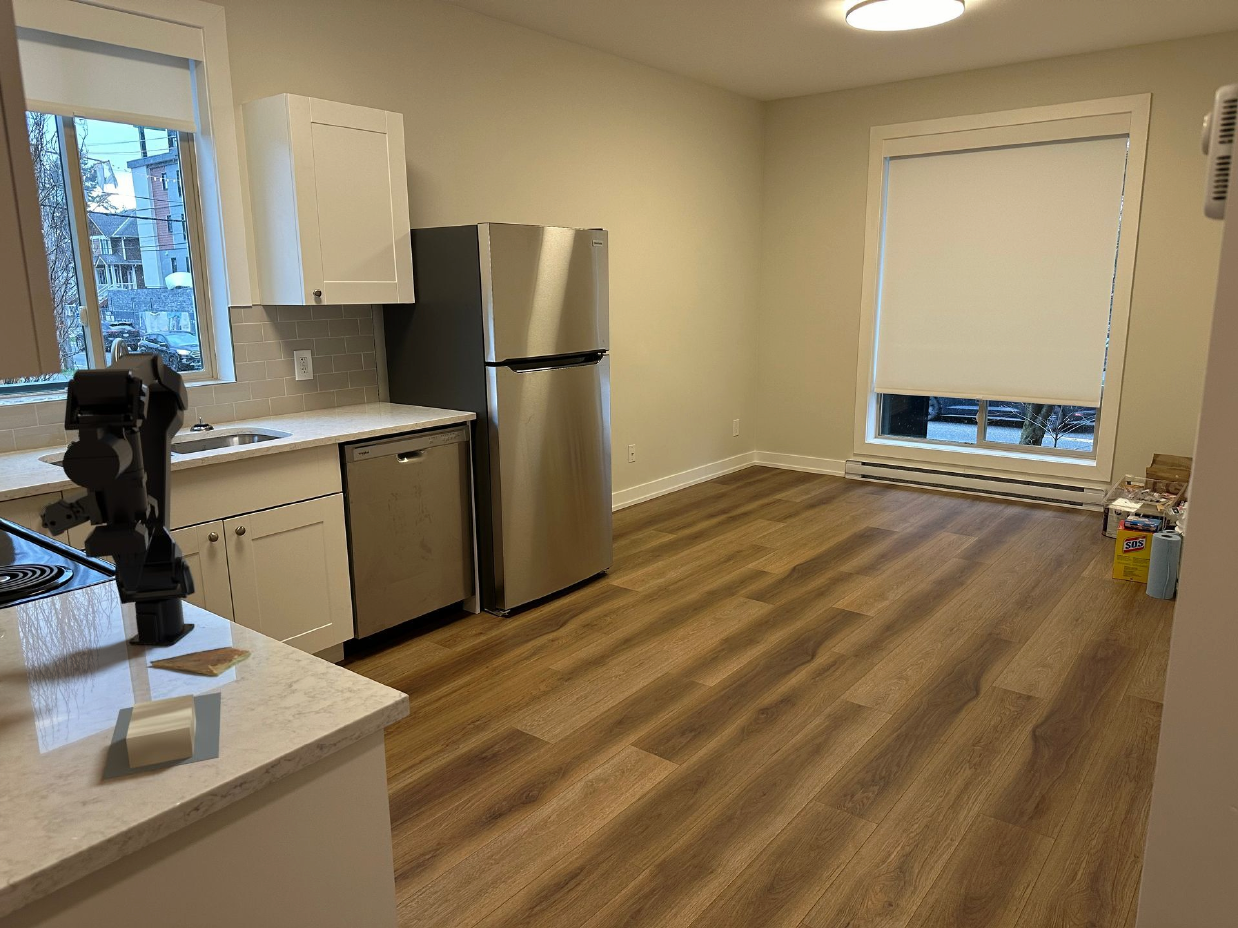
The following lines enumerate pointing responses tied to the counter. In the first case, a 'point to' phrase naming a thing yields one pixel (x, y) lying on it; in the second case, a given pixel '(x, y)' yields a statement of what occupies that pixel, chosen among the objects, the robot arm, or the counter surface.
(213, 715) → the rubber mat
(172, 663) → the shard
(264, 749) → the counter surface
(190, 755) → the beige block
